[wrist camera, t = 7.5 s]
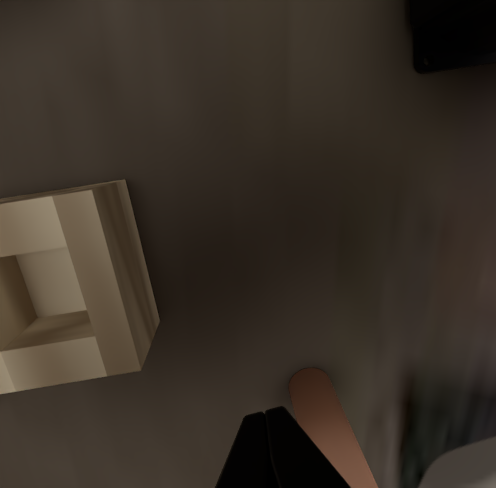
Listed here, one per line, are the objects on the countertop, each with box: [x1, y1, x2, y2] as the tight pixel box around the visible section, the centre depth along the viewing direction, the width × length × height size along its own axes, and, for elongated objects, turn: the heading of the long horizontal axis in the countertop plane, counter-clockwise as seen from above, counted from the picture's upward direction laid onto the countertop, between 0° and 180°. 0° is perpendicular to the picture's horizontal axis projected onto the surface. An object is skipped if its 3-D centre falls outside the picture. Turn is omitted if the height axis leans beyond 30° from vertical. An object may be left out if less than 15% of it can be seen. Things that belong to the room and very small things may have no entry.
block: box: [0, 179, 160, 394], centre depth 16 cm, size 10×8×4 cm
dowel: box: [289, 368, 378, 488], centre depth 17 cm, size 3×3×8 cm
